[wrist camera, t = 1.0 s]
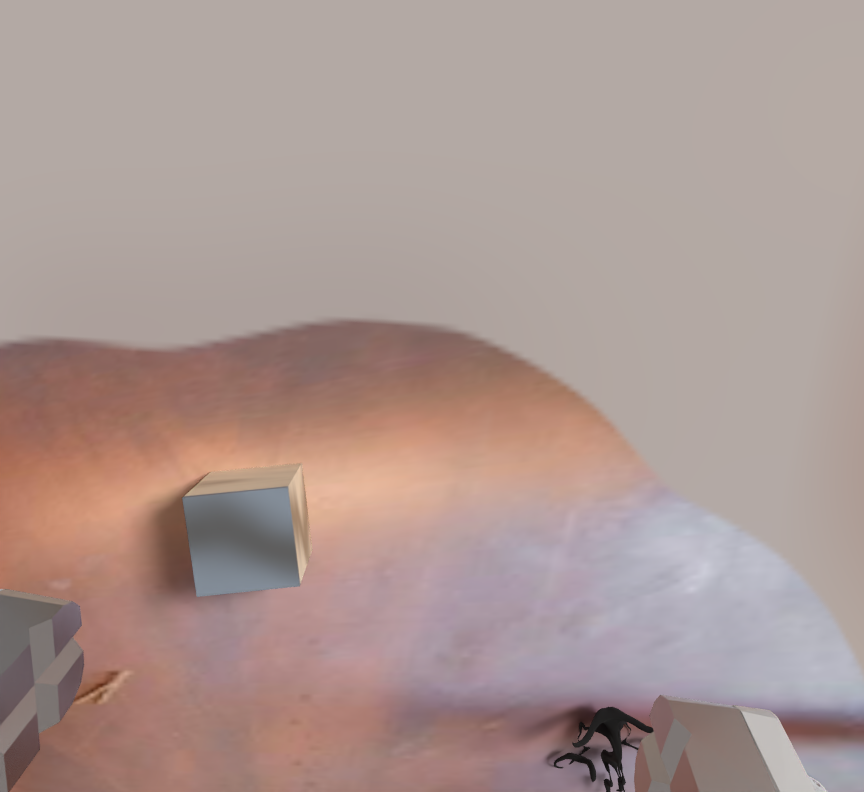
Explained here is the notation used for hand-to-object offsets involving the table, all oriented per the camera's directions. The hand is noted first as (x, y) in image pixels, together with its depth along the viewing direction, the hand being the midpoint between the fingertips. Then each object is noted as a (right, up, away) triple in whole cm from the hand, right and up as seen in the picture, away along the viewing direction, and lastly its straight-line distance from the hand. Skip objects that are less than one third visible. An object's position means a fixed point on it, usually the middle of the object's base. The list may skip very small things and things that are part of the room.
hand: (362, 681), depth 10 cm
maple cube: (-10, -4, +36) cm, 38 cm away
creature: (+13, -21, +40) cm, 47 cm away
